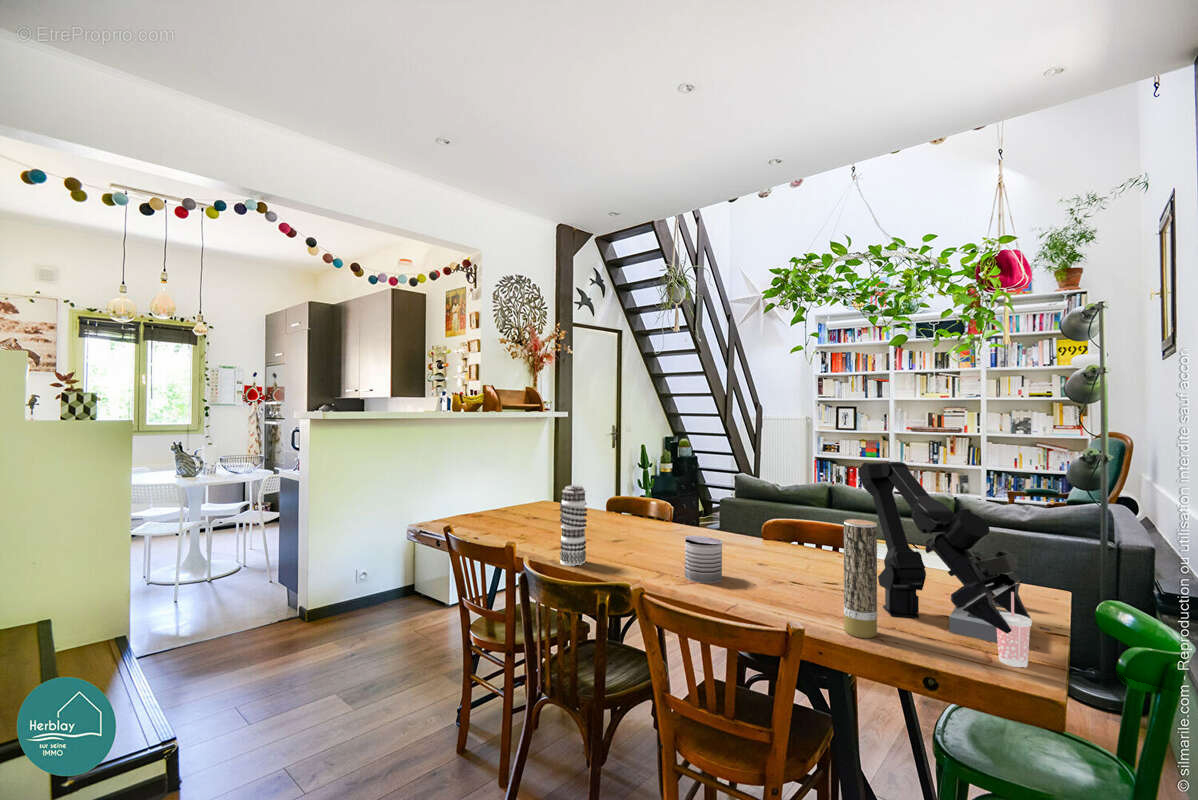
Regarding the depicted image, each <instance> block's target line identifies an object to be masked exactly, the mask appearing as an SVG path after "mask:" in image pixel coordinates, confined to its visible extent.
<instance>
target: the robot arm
mask: <svg viewBox="0 0 1198 800" xmlns="http://www.w3.org/2000/svg"><path fill="white" fill-rule="evenodd" d="M857 474H858V477H859V479H860V482H861V484H862V487H863V488H864V490H865V491H867V492H868V493H869V494H870V495H871V497H872V499H873V502H874V507H875V509H876V513H877V517H878V521H879V524H880V527H881V531H882V534H883V538H884V541H885V546H886V549H887V551H886V555H885V557H884V560H883V563H884V568H883V570H882V571H881V572H880V574H878V575H877V581H878V584H879V586H880V587H882V588H884V589H885V591H884V592H885V593H884V596H885V597H884V599H885V600H884V601H885V603H884V604H885V605H882V608H883V609H884V611H886V612H887V613H888V614H889V615H890V616H892V617H900V618H901V617H902V618H904V617H905V618H920V615H919V614H918V613H919V610H920V609H919V607H920V605H919V604H920V603H919V599H920V598H919V596H918V595H917V591H923V589H924V585H925V582H926V578H927V572H926V566H925V564H924V562H923V557H922V554H921V552H920V551H918V550H915V551H914V550H913V548H911V546H909V542H908V540H907V535H906V533H905V532H906V531H905V529H904V526H903V523H902V519H901V516H900V513H899V512H900V511H899V509H898V506H897V502H896V499H895V496H894V492H893V491H894V489H896V490H897V491H898V493H899V494H900V495H901V497H902V498H903V500H904V501H905V502H906V504H908V505H909V507H910V509H911V511H912V513H911V519H912V521H913V523H914V524H915V526H916V528H917V530H918V531H919V532H920V533H922V534H927V535H928V534H929V535H930V534H936V536H934V537H931V538H929V539H926V540H925V550H924V551H925V552H926V554H929V553H932V552H934V553H935V554H936V555H937V556H938V558H939V559H940V560H941V561H942V562H943V563H944V565H945V566H946V567H947V568H948V569H949V571H947V574H948V575H949V576H950V577H953V576H955V577H956V579H957V580H959V582H960V583H961V584H962V585H963V586H961V587H959V588H958V589H957V590H955V591H954V592H953V593H951V594H950V602H951V603H952V604H953V606H955V607H956V608H957V609H960V608H963V607H965V606H966V604H967V607H966V608H964V609H963V611H967V612H969V613H971V614H973V615H975V616H977V617H978V618H980V619H982V620H984V621H986V622H988V623H989V624H991V625H993V626H995V627H996V628H998V629H1000V630H1002V631H1003V632H1005V633H1009V632H1011V631H1012V630H1011V628H1010V627H1009V625H1008V624H1007V622H1006V621H1005V620H1004V618H1003V617H1002V615H1001V614H1000V613H999V611H998V610H997V609H998V608H997V607H995V606H994V605H993V601H995V602H996V603H998V604H999V605H1000V606H1002V607H1003V608H1002V609H1003V610H1006V611H1009V612H1010V613H1011V592H1014V613H1015V614H1019V615H1023V616H1026V617H1028V618H1030V619H1031V616H1030V617H1029V615H1030V614H1029V613H1028V611H1027V609H1026V608H1025V605H1024V603H1023V602H1022V599H1021V597H1020V595H1019V590H1020V587H1021V583H1020V581H1021V580H1022V579H1020V577H1019V576H1018V575H1017V574H1016V573H1015V572H1014V571H1019V570H1020V567H1019V565H1018V564H1017V562H1018V561H1019V558H1018V557H1016V556H1014V554H1013V553H1011V552H1009V551H1008V550H1007V549H1004V550H1000V551H997V552H995V557H992V558H987V559H986V558H984V557H983V556H982V555H980V554H976V555H975V554H974V553H973V552H972V549H973V548H974V547H976V546H977V545H978V544H979V543H980V542H981V541H982V540H983V539H985V537H987V536H988V535H989V533H990V530H991V529H990V526H989V524H988V522H987V521H986V520H984V519H983V518H982V517H981V516H980V515H977V514H975V513H973V512H972V511H971V509H970V508H960V509H958V510H957V512H956V514H955V513H954V512H953V510H951V508H949V507H948V506H947V505H946V504H944V503H943V502H941V501H939V500H937V499H935V498H933V497H932V496H931V495H930V494H929V493H928V492H927V491H926V490H925V488H924V487H923V486H922V485H921V484H920V482H919V481H918V479H916V477H914V475H913V474H912V473H911V472H910V471H909V468H908V465H907V464H906V463H905V462H902V461H886V462H863V463H862V464H861V466H859V468H858V471H857ZM986 593H987V594H986ZM993 596H996V597H994V598H993V599H992V597H993Z"/></svg>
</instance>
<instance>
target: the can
mask: <svg viewBox="0 0 1198 800" xmlns="http://www.w3.org/2000/svg"><path fill="white" fill-rule="evenodd" d="M683 537H684V538H685V541H684V579H686V578H687V579H686V580H687V581H689V580H690V582H692V581H694V582H693V583H697V582H699V583H698V584H716V583H719V582H720V583H721V582H722V580H723V543H724V542H723V540H721V539H717V538H713V537H709V536H702V535H684V536H683Z"/></svg>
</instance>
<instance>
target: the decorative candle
mask: <svg viewBox="0 0 1198 800" xmlns="http://www.w3.org/2000/svg"><path fill="white" fill-rule="evenodd" d="M561 492H562V494H561V495H562V497H561V498H562V499H561V502H560V503H559V506H560V507H559V511H560V515H559V517H560V518H559V519H560V520H559V522H561V524H560V528H561V538H560V539H561V540H560V547H559V548H560V549H561V550H560V552H559V555H560V556H559V560H560V561H559V562H560V563H559V564H561V565H563V566H565V567H566V566H568V567H576V566H575V565H580V564H583V563H584V562H585V561H586V559H587V556H586V554H587V551H586V549H587V546H586V544H587V541H586V535H585V531H586V528H587V524H586V523H587V521H588V520H587V519H585V517H586V516H588V514H587V513H586V512H588V508H586V507H585V506H586V505H587V502H586V492H587V490H585V489H584V487H583V486H582V485H576V484H575V485H567V486H565V487H564V489H563V490H561ZM580 566H581V565H580Z"/></svg>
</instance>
